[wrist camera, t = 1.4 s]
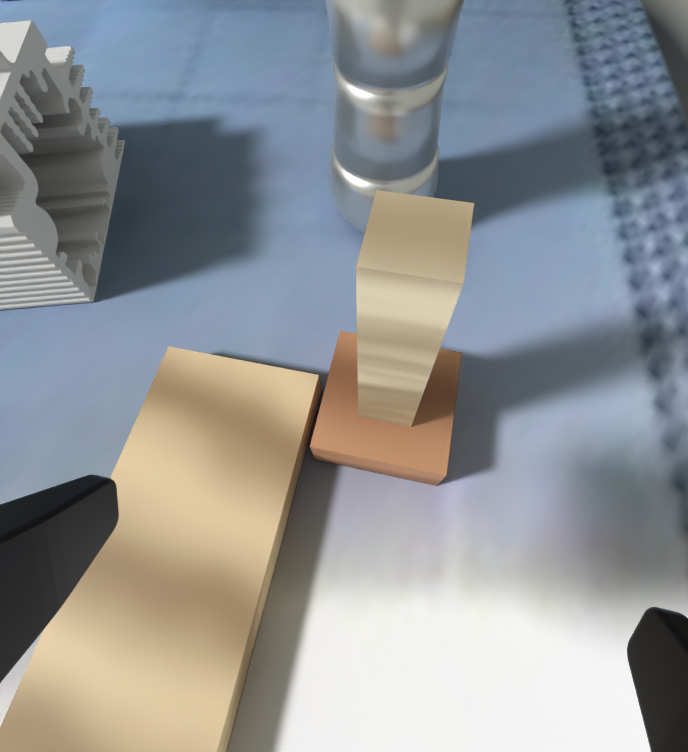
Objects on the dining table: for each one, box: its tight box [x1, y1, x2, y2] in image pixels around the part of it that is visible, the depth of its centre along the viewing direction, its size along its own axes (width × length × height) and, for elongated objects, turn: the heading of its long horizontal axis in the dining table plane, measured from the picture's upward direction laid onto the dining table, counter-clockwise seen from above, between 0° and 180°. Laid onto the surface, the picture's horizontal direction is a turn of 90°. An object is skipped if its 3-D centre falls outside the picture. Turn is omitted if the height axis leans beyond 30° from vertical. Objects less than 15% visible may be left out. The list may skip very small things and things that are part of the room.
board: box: [0, 346, 322, 752], centre depth 18 cm, size 22×8×2 cm, turn 168°
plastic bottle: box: [325, 0, 464, 234], centre depth 18 cm, size 6×7×20 cm
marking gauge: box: [310, 190, 474, 486], centre depth 16 cm, size 6×6×13 cm
